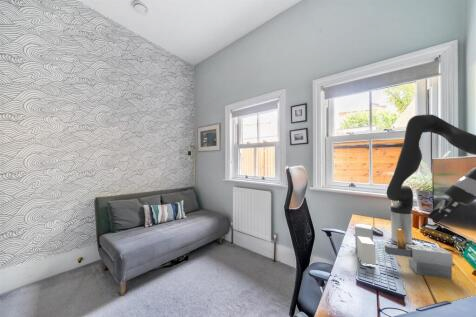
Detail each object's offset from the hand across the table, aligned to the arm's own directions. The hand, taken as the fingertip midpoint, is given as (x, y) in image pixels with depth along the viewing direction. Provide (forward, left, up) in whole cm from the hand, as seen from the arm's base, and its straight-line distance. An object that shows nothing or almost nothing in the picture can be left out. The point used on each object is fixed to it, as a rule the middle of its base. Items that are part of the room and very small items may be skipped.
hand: (431, 219), depth 77 cm
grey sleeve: (0, -2, -23) cm, 23 cm away
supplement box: (-15, -21, -23) cm, 34 cm away
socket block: (0, -24, -23) cm, 33 cm away
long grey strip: (0, -6, -17) cm, 18 cm away
